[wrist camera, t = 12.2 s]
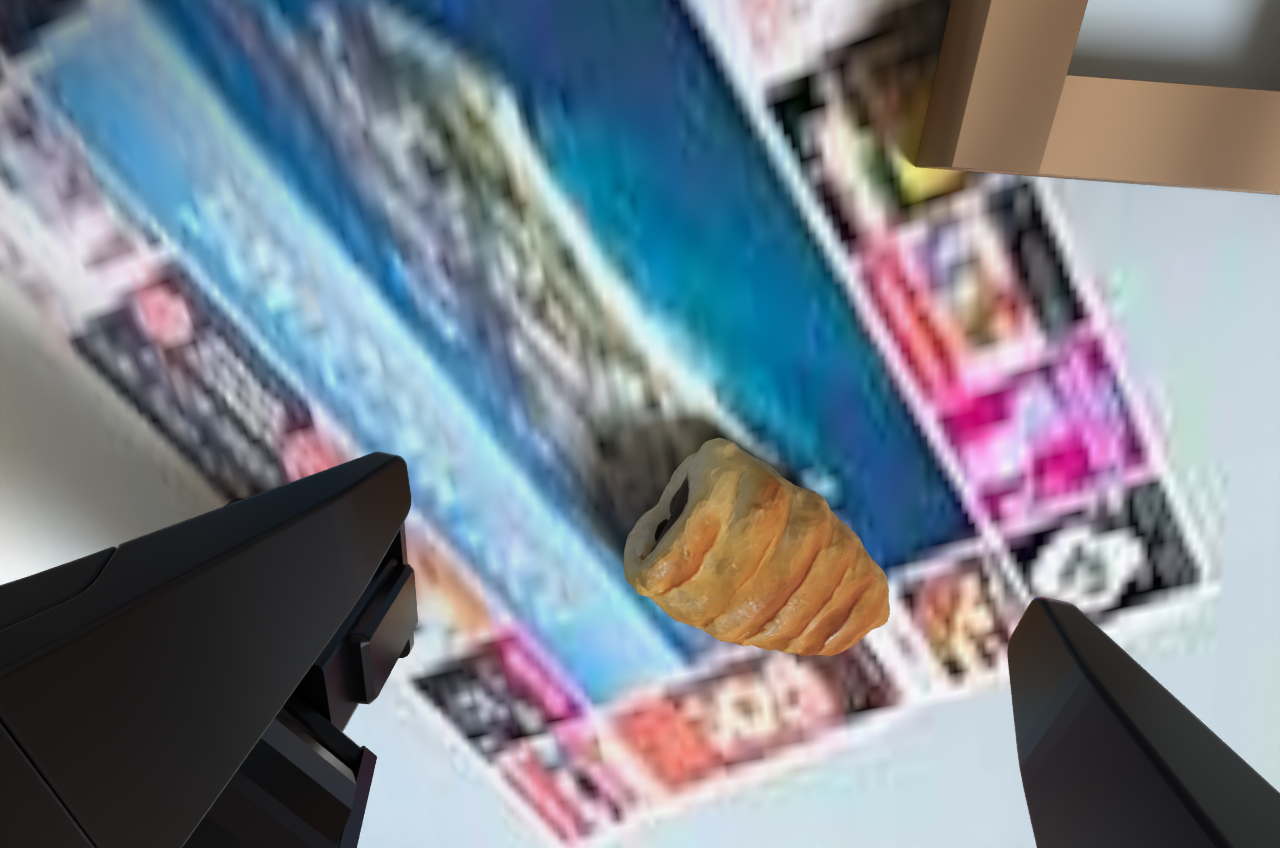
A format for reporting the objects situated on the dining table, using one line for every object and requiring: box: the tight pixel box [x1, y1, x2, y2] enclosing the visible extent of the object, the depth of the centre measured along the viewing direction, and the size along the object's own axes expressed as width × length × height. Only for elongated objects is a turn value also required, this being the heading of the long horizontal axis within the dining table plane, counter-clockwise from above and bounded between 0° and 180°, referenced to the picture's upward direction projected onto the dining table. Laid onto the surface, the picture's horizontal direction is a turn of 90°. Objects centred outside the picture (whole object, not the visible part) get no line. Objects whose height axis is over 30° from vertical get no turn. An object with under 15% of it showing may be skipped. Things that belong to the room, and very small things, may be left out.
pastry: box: [624, 438, 890, 656], centre depth 22 cm, size 9×7×4 cm
